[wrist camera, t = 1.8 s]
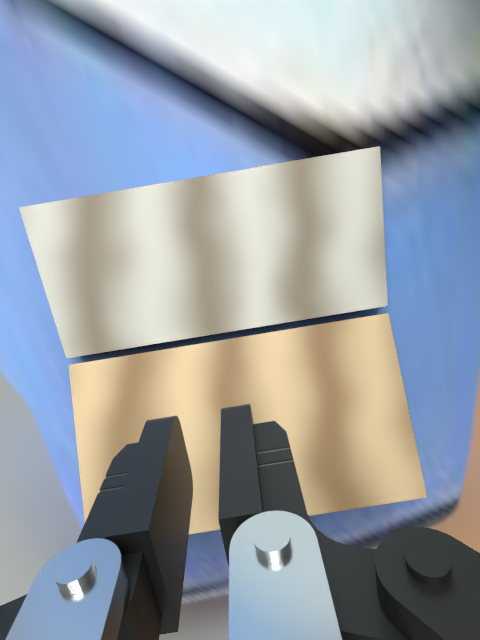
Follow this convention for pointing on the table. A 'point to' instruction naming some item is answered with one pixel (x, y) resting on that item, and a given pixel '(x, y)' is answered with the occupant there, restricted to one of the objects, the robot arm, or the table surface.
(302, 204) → the grey-washed plank
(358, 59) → the table surface
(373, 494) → the honey oak plank
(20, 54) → the table surface
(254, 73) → the table surface
